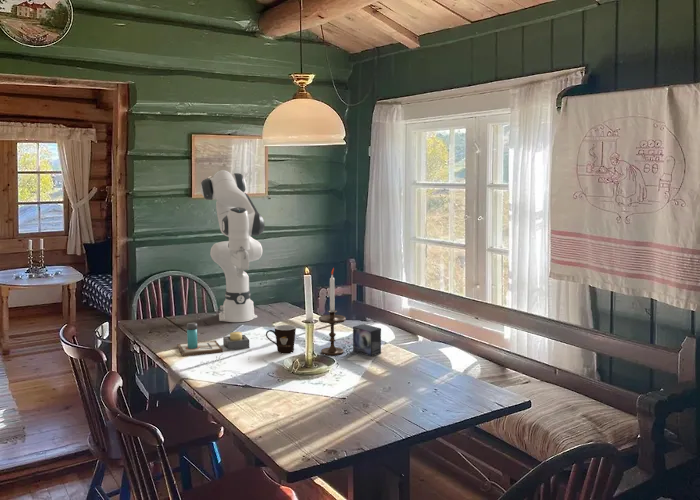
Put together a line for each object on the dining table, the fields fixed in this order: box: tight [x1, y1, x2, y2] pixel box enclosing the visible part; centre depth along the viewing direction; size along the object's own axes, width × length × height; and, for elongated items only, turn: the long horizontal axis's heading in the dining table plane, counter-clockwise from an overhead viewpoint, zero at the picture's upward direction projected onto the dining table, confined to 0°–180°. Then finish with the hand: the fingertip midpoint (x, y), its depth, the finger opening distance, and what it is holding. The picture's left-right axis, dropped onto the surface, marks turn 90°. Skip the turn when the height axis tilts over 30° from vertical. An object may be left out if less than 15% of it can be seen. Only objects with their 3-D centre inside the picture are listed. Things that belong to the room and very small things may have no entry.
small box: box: [352, 323, 382, 357], centre depth 273 cm, size 11×6×10 cm, turn 44°
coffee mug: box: [265, 324, 297, 355], centre depth 275 cm, size 12×9×10 cm
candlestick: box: [318, 267, 347, 357], centre depth 271 cm, size 11×11×35 cm
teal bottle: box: [186, 322, 199, 349], centre depth 275 cm, size 4×4×10 cm
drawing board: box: [176, 339, 224, 357], centre depth 278 cm, size 15×16×1 cm
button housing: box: [222, 334, 250, 351], centre depth 283 cm, size 9×9×4 cm
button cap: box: [229, 331, 243, 341], centre depth 282 cm, size 5×5×4 cm
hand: (240, 277), depth 292 cm, fingers closed
